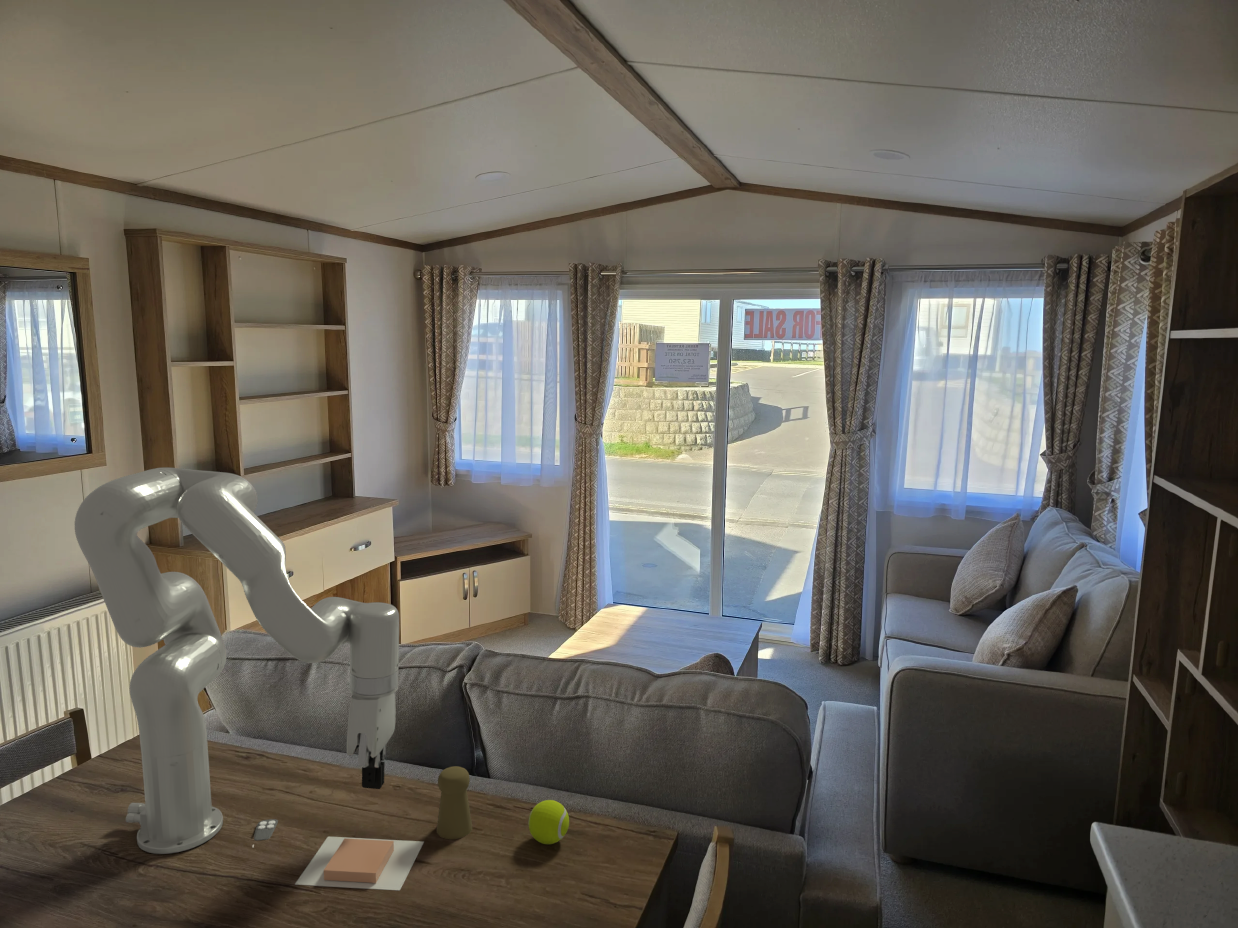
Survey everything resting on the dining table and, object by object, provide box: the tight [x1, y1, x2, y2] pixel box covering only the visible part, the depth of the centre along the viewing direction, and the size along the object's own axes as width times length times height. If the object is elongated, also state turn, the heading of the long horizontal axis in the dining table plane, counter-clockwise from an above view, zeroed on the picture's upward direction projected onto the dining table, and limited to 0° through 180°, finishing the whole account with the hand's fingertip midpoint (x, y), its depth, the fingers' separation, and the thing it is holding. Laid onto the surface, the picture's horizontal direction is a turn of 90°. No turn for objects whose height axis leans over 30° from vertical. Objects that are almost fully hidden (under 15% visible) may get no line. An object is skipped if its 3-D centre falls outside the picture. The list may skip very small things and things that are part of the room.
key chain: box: [251, 818, 279, 848], centre depth 134 cm, size 13×4×2 cm, turn 11°
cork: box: [436, 765, 473, 840], centre depth 138 cm, size 6×6×11 cm
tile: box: [324, 837, 394, 883], centre depth 128 cm, size 8×2×8 cm
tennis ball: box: [528, 799, 570, 845], centre depth 136 cm, size 7×7×7 cm
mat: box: [294, 836, 425, 892], centre depth 129 cm, size 16×12×1 cm
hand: (373, 785), depth 136 cm, fingers closed
